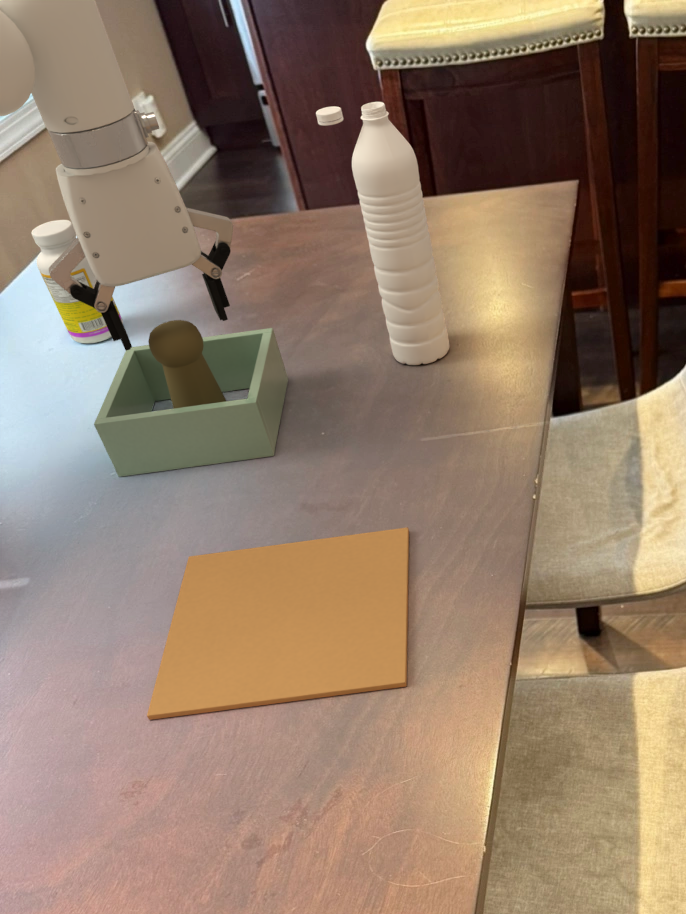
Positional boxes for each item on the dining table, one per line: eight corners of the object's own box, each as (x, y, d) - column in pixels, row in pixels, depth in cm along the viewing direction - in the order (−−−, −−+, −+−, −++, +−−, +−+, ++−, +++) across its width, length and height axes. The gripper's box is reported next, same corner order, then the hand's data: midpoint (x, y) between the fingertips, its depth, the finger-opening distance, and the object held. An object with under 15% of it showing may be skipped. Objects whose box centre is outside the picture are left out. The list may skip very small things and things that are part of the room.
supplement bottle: (96, 318, 129) (51, 213, 120) (135, 323, 127) (92, 217, 118) (60, 342, 125) (10, 236, 116) (99, 348, 123) (52, 241, 114)
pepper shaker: (177, 419, 109) (137, 321, 101) (232, 405, 110) (197, 306, 102) (181, 446, 105) (140, 346, 97) (238, 431, 106) (202, 331, 98)
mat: (148, 720, 77) (146, 715, 77) (190, 560, 91) (188, 556, 90) (406, 686, 77) (405, 682, 76) (409, 531, 90) (408, 526, 90)
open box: (118, 477, 102) (93, 424, 98) (148, 398, 113) (126, 347, 109) (273, 456, 102) (255, 402, 97) (288, 378, 113) (272, 327, 108)
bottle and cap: (449, 335, 116) (406, 89, 98) (450, 361, 111) (405, 109, 93) (374, 345, 116) (317, 101, 98) (373, 372, 112) (313, 122, 93)
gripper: (189, 106, 92) (250, 291, 104) (-4, 156, 88) (83, 341, 100) (205, 127, 87) (267, 318, 99) (2, 180, 83) (93, 372, 96)
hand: (174, 329), depth 100 cm, fingers open, 9 cm apart
